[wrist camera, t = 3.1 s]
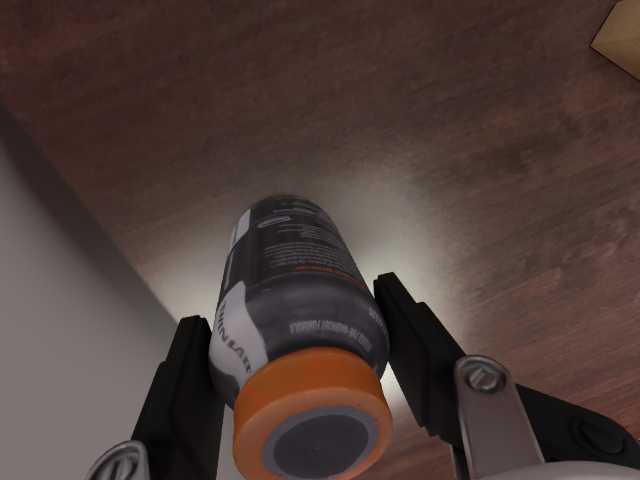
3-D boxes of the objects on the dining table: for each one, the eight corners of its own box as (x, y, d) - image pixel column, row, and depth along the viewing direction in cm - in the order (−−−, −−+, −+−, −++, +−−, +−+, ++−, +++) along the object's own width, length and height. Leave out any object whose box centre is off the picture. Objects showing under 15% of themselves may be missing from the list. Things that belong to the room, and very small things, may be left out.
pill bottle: (206, 240, 16) (120, 471, 6) (292, 170, 16) (347, 308, 6) (279, 305, 19) (299, 542, 9) (356, 248, 18) (472, 438, 8)
